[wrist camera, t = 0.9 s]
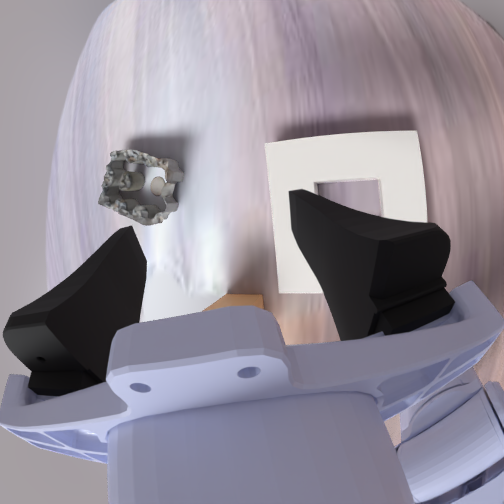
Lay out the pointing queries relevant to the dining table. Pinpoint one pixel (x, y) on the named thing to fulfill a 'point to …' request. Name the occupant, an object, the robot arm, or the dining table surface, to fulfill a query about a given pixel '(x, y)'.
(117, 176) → the egg carton
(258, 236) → the dining table surface
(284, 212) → the socket plate
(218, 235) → the dining table surface
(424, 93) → the dining table surface
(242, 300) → the peg
